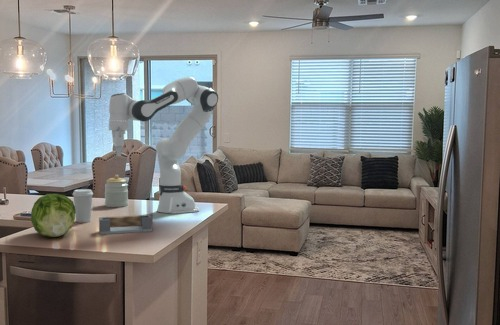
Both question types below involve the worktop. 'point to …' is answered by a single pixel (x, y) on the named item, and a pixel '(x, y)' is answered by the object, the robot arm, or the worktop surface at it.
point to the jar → (116, 192)
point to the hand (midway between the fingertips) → (118, 155)
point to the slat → (124, 220)
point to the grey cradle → (144, 226)
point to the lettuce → (53, 215)
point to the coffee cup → (83, 204)
